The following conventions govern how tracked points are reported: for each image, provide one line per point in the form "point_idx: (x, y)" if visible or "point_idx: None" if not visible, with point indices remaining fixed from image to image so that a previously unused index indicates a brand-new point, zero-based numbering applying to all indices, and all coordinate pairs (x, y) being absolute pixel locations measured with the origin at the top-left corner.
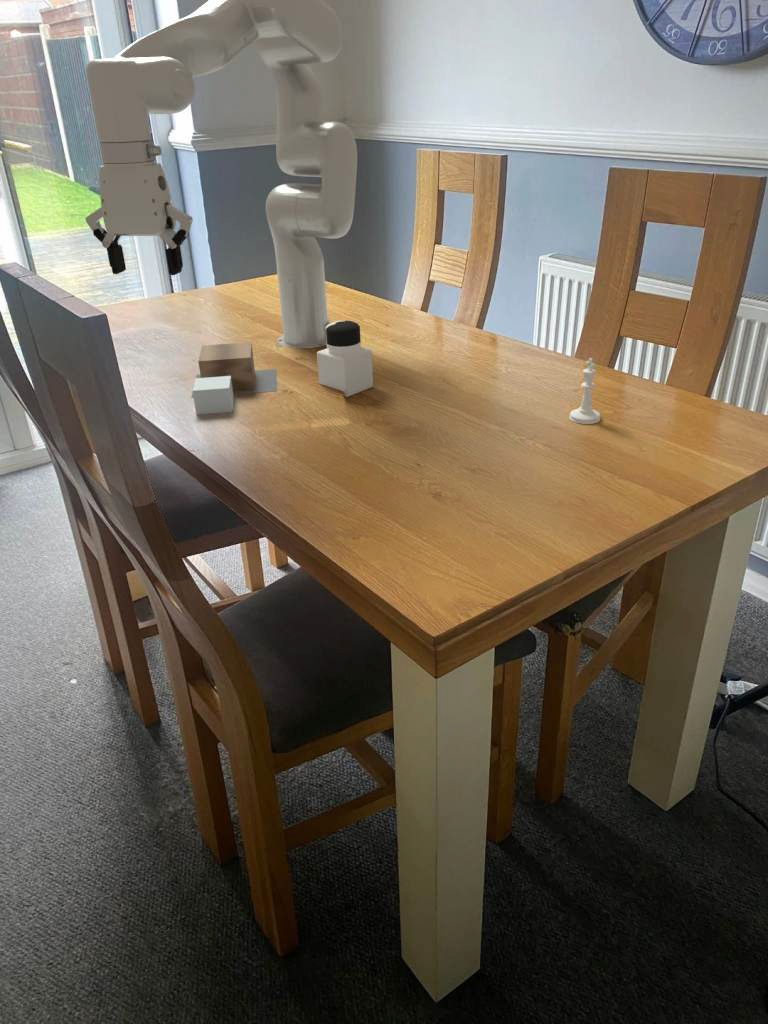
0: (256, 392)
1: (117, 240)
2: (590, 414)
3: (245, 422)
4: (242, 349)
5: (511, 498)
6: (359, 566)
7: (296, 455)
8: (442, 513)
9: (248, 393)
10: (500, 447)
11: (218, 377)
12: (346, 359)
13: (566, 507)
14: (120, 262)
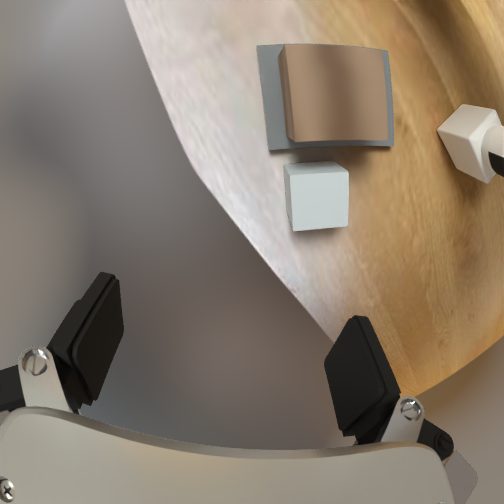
0: (367, 145)
1: (63, 387)
2: None
3: (349, 223)
4: (371, 89)
5: (465, 340)
6: None
7: (387, 301)
8: (433, 356)
9: (356, 145)
10: (495, 287)
11: (329, 177)
12: (489, 181)
13: (475, 344)
14: (109, 329)
